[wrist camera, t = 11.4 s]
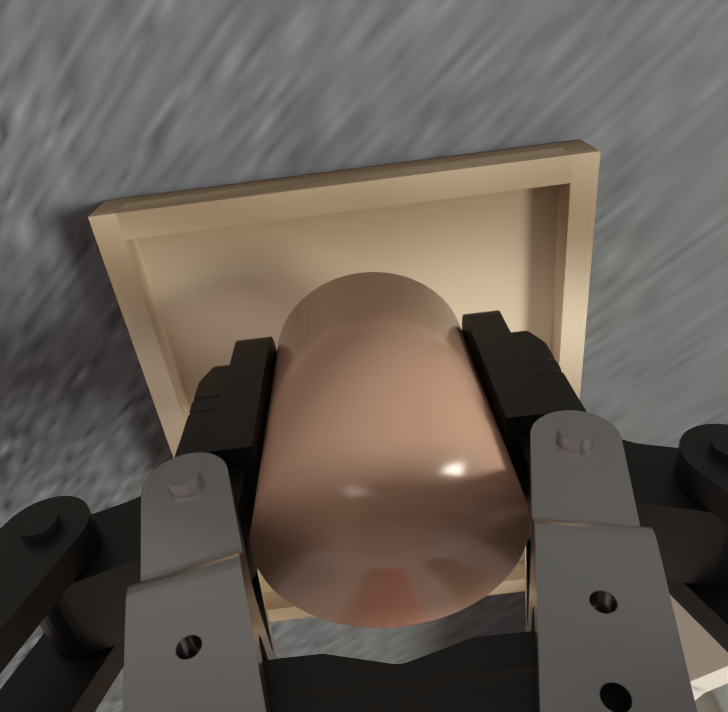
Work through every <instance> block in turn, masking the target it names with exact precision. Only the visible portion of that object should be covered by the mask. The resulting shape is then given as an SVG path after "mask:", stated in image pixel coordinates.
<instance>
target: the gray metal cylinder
mask: <svg viewBox="0 0 728 712" xmlns="http://www.w3.org/2000/svg"><path fill="white" fill-rule="evenodd" d="M710 691H711V693H712V695H713V697H714V698H715V700H716V702H717V704H718V706H719V707H720V709H721V711H722V712H728V683H727V684H725V685H722V686H720V687H717V688H715V689H713V690H710Z"/></svg>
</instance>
